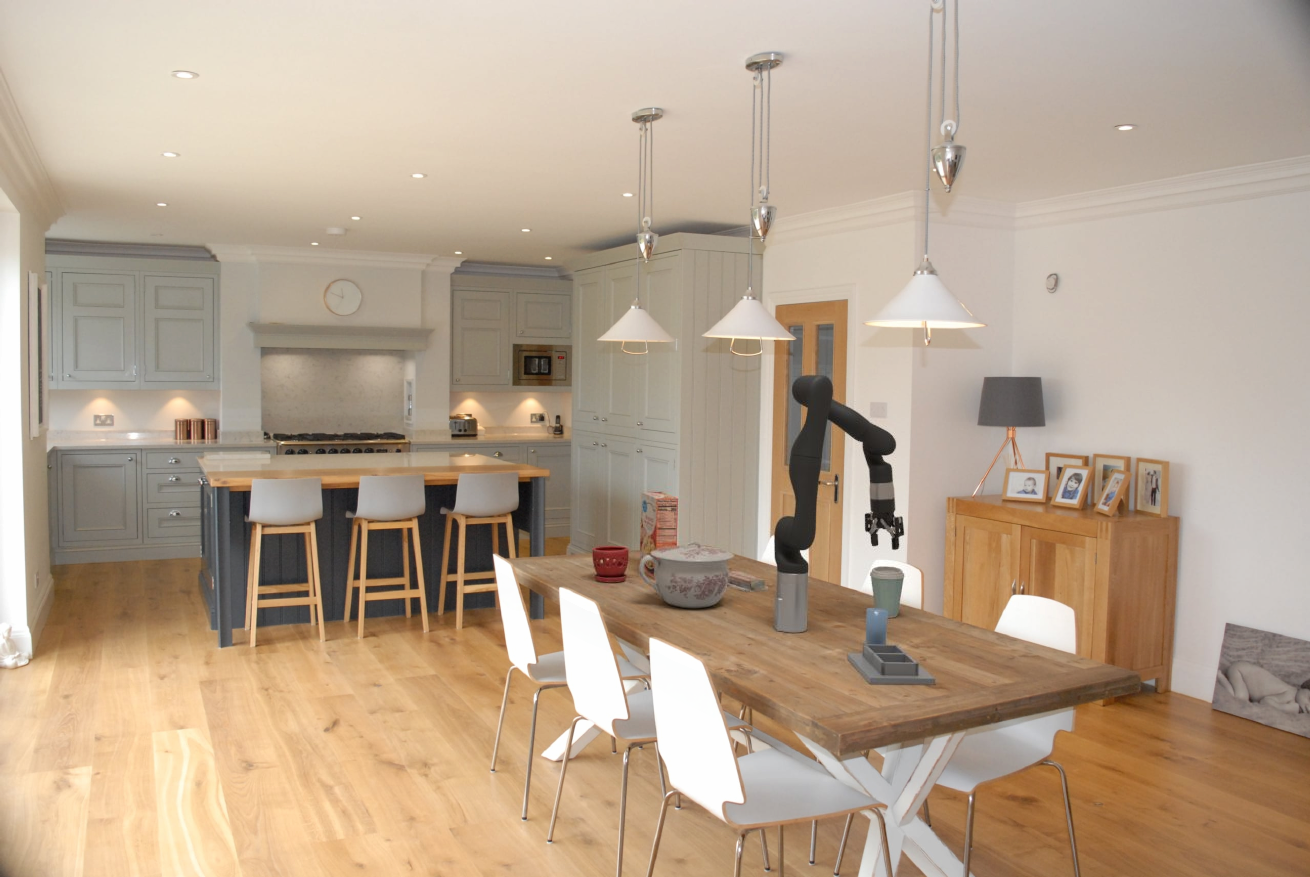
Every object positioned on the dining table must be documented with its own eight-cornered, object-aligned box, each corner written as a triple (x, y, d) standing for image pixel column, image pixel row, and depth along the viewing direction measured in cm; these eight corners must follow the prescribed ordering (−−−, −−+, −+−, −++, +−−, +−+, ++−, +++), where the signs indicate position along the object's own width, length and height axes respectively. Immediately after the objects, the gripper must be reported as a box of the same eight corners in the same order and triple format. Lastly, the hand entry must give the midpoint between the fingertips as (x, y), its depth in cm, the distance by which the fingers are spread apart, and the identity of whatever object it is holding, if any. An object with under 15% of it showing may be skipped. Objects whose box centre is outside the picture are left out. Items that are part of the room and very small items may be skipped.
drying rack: (869, 684, 233) (870, 665, 233) (847, 658, 255) (847, 641, 255) (935, 684, 234) (935, 666, 234) (906, 659, 256) (907, 642, 256)
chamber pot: (744, 601, 323) (746, 539, 322) (714, 617, 298) (716, 550, 297) (668, 591, 334) (669, 532, 333) (633, 607, 309) (634, 542, 308)
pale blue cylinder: (868, 656, 258) (869, 612, 257) (862, 651, 263) (864, 607, 262) (888, 656, 258) (890, 612, 257) (882, 651, 263) (884, 607, 263)
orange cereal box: (639, 568, 376) (641, 491, 375) (659, 568, 378) (661, 491, 377) (654, 580, 354) (656, 498, 353) (675, 579, 356) (678, 498, 355)
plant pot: (630, 577, 357) (630, 545, 357) (625, 584, 344) (626, 551, 344) (595, 576, 359) (595, 544, 358) (589, 583, 346) (589, 549, 345)
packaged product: (769, 577, 341) (746, 580, 336) (769, 591, 342) (746, 593, 337) (740, 568, 357) (718, 570, 352) (740, 581, 357) (717, 584, 352)
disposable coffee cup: (903, 620, 300) (905, 572, 299) (868, 618, 302) (870, 570, 301) (902, 613, 310) (904, 566, 310) (867, 610, 312) (869, 564, 312)
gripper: (857, 496, 304) (860, 546, 306) (890, 500, 292) (893, 552, 294) (874, 492, 308) (877, 542, 310) (908, 496, 296) (911, 548, 298)
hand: (885, 547), depth 302 cm, fingers open, 8 cm apart
